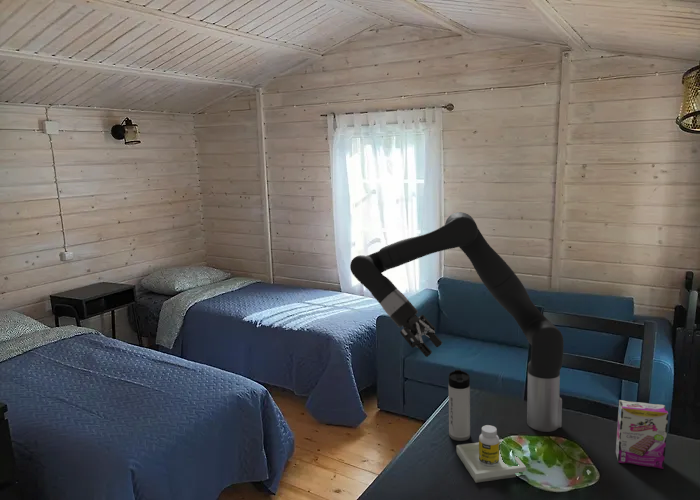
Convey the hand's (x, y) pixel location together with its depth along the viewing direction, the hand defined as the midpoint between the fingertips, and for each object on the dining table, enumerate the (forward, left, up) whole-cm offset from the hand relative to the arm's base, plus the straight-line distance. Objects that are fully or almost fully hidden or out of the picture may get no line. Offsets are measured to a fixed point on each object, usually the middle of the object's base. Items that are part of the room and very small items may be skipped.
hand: (434, 350), depth 152 cm
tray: (-10, +16, -28) cm, 34 cm away
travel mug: (-7, 0, -29) cm, 29 cm away
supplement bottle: (-10, +16, -28) cm, 33 cm away
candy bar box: (-50, +24, -29) cm, 62 cm away
